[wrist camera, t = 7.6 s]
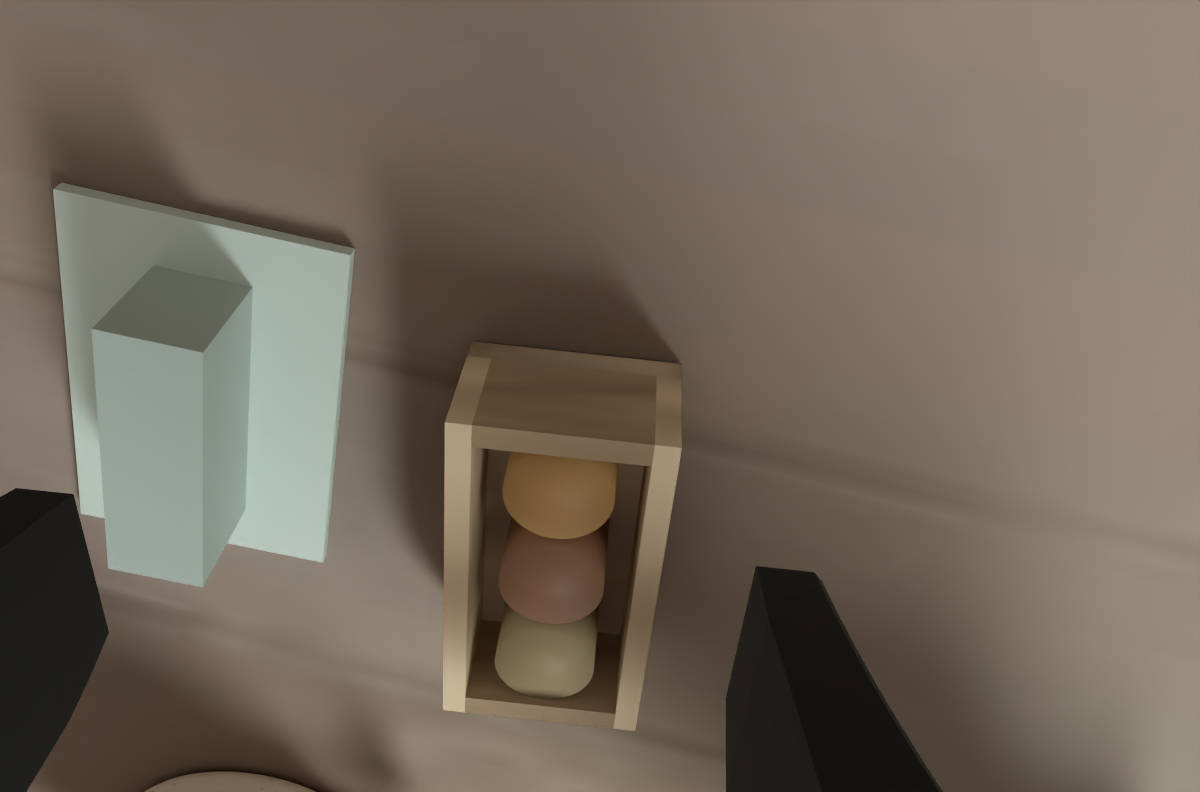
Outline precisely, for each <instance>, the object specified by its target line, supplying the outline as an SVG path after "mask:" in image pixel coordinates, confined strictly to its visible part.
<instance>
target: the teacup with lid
mask: <svg viewBox="0 0 1200 792" xmlns="http://www.w3.org/2000/svg"><path fill="white" fill-rule="evenodd" d="M145 792H316V791H314V790H312V789H309V788H306V787H304V786H301V785H299V784H295V783H292V782H289V781H286V780H282V779H278V778H274V777H270V776H264V775H259V774H252V773H244V772H202V773H195V774H189V775H184V776H179V777H176V778H173V779H170V780H167V781H165V782H162V783H160V784H157V785H155V786H153V787H152V788H150V789H148V790H146V791H145Z"/></svg>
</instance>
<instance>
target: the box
mask: <svg viewBox="0 0 1200 792" xmlns="http://www.w3.org/2000/svg"><path fill="white" fill-rule="evenodd" d="M681 451H682V404H681V364H677V363H668V362H658V361H649V360H640V359H631V358H621V357H612V356H603V355H594V354H585V353H575V352H566V351H557V350H548V349H538V348H529V347H520V346H511V345H501V344H492V343H483V342H474V341H472V343H471V346H470V349H469V352H468V355H467V358H466V361H465V364H464V367H463V369H462V372H461V375H460V378H459V381H458V384H457V387H456V390H455V393H454V396H453V399H452V402H451V405H450V408H449V411H448V414H447V417H446V420H445V471H444V636H443V710H448V711H457V712H466V713H475V714H485V715H494V716H503V717H512V718H521V719H530V720H540V721H549V722H558V723H567V724H576V725H585V726H595V727H604V728H613V729H622V730H631V731H635V729H636V723H637V717H638V711H639V705H640V699H641V693H642V687H643V681H644V675H645V669H646V663H647V657H648V651H649V645H650V639H651V633H652V627H653V620H654V614H655V608H656V602H657V596H658V590H659V584H660V578H661V572H662V566H663V560H664V554H665V548H666V542H667V536H668V530H669V524H670V518H671V512H672V506H673V500H674V493H675V487H676V481H677V475H678V469H679V463H680V457H681Z"/></svg>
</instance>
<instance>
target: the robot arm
mask: <svg viewBox="0 0 1200 792" xmlns="http://www.w3.org/2000/svg"><path fill="white" fill-rule="evenodd" d="M108 633H109V631H108V628H107V624H106V620H105V616H104V612H103V608H102V604H101V600H100V596H99V592H98V588H97V585H96V581H95V577H94V573H93V569H92V565H91V561H90V557H89V553H88V549H87V545H86V542H85V538H84V534H83V530H82V526H81V522H80V518H79V514H78V510H77V506H76V503H75V499H74V495H73V494H66V493H56V492H47V491H37V490H28V489H18V488H16V489H14V490H12V491H10V492H9V493H7V494H5V495H3V496H1V497H0V792H26V791H27V789H28V788H29V786H30V785H31V783H32V781H33V780H34V778H35V776H36V775H37V773H38V771H39V770H40V768H41V767H42V765H43V763H44V762H45V760H46V758H47V757H48V755H49V753H50V752H51V750H52V749H53V747H54V745H55V744H56V742H57V740H58V739H59V737H60V735H61V734H62V732H63V730H64V728H65V727H66V725H67V723H68V722H69V720H70V718H71V716H72V714H73V711H74V709H75V707H76V705H77V703H78V701H79V699H80V697H81V695H82V692H83V690H84V688H85V686H86V684H87V682H88V680H89V677H90V675H91V673H92V670H93V668H94V666H95V663H96V661H97V659H98V656H99V654H100V652H101V649H102V647H103V645H104V642H105V640H106V638H107V636H108ZM726 792H943V791H942V790H941V788H940V787H939V785H938V784H937V782H936V781H935V779H934V778H933V776H932V775H931V773H930V771H929V770H928V768H927V767H926V765H925V764H924V762H923V761H922V759H921V758H920V756H919V754H918V753H917V751H916V749H915V748H914V746H913V745H912V743H911V741H910V740H909V738H908V736H907V735H906V733H905V732H904V730H903V728H902V727H901V725H900V723H899V722H898V720H897V718H896V717H895V715H894V714H893V712H892V710H891V709H890V707H889V705H888V704H887V702H886V700H885V699H884V697H883V695H882V693H881V692H880V690H879V688H878V687H877V685H876V683H875V681H874V680H873V678H872V676H871V674H870V672H869V671H868V669H867V667H866V665H865V663H864V662H863V660H862V658H861V656H860V654H859V653H858V651H857V649H856V647H855V645H854V643H853V642H852V640H851V638H850V636H849V634H848V632H847V630H846V628H845V627H844V625H843V623H842V621H841V619H840V617H839V615H838V613H837V611H836V609H835V607H834V605H833V603H832V601H831V599H830V597H829V595H828V593H827V591H826V589H825V587H824V585H823V583H822V581H821V580H820V579H819V578H818V576H817V575H816V574H815V573H814V572H805V571H796V570H786V569H777V568H767V567H758V566H756V569H755V573H754V578H753V582H752V587H751V591H750V595H749V600H748V604H747V609H746V613H745V617H744V622H743V626H742V630H741V635H740V639H739V644H738V648H737V652H736V657H735V661H734V666H733V670H732V674H731V679H730V683H729V687H728V692H727V696H726Z"/></svg>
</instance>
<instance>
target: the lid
mask: <svg viewBox="0 0 1200 792" xmlns="http://www.w3.org/2000/svg"><path fill="white" fill-rule="evenodd" d="M53 195H54V206H55V218H56V230H57V241H58V253H59V264H60V276H61V288H62V299H63V311H64V322H65V334H66V345H67V357H68V369H69V380H70V392H71V403H72V415H73V427H74V438H75V450H76V461H77V473H78V484H79V496H80V508H81V514H85V515H90V516H95V517H100V518H105V531H106V545H107V559H108V569H113V570H118V571H123V572H128V573H133V574H138V575H143V576H148V577H153V578H158V579H163V580H168V581H173V582H178V583H183V584H188V585H193V586H198V587H203V586H204V584H205V582H206V581H207V579H208V577H209V575H210V573H211V571H212V570H213V568H214V566H215V564H216V562H217V561H218V559H219V557H220V555H221V553H222V551H223V550H224V548H225V546H226V544H227V543H229V544H234V545H239V546H244V547H249V548H254V549H259V550H263V551H268V552H273V553H278V554H283V555H288V556H293V557H298V558H303V559H308V560H313V561H318V562H323V561H324V558H325V556H326V551H327V541H328V530H329V519H330V509H331V498H332V487H333V477H334V466H335V455H336V445H337V434H338V423H339V413H340V402H341V391H342V381H343V370H344V360H345V349H346V338H347V328H348V317H349V306H350V296H351V285H352V274H353V264H354V253H355V248H350V247H346V246H342V245H337V244H333V243H328V242H324V241H319V240H315V239H310V238H306V237H302V236H297V235H293V234H288V233H284V232H279V231H275V230H270V229H266V228H262V227H257V226H253V225H248V224H244V223H239V222H235V221H230V220H226V219H222V218H217V217H213V216H208V215H204V214H199V213H195V212H190V211H186V210H182V209H177V208H173V207H168V206H164V205H159V204H155V203H150V202H146V201H141V200H137V199H133V198H128V197H124V196H119V195H115V194H110V193H106V192H101V191H97V190H93V189H88V188H84V187H79V186H75V185H70V184H66V183H60V184H59V185H58V186H56V187H55V188H54V189H53Z"/></svg>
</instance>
